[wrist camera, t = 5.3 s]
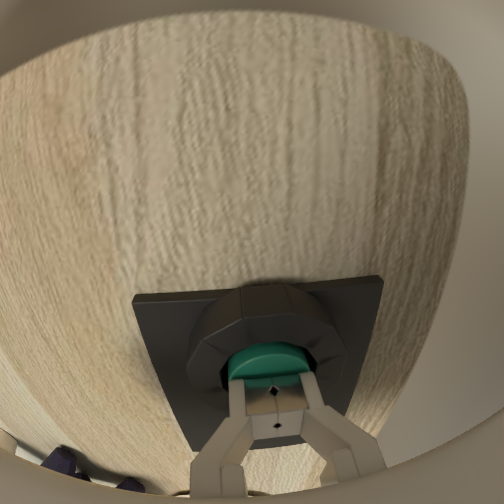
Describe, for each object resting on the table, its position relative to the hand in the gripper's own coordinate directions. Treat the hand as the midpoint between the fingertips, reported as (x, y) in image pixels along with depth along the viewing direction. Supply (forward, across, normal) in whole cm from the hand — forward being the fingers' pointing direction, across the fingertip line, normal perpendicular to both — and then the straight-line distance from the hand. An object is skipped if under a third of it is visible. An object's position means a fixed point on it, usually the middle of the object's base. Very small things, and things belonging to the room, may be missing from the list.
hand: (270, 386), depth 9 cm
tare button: (+2, 0, 0) cm, 2 cm away
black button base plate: (+3, 0, +4) cm, 5 cm away
